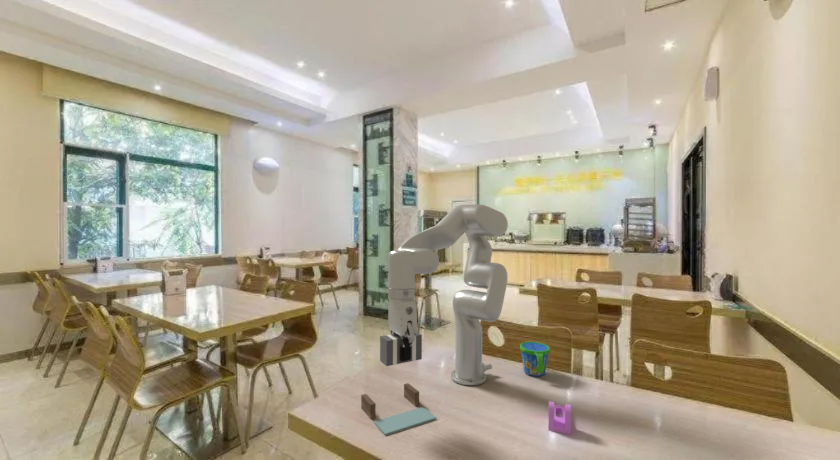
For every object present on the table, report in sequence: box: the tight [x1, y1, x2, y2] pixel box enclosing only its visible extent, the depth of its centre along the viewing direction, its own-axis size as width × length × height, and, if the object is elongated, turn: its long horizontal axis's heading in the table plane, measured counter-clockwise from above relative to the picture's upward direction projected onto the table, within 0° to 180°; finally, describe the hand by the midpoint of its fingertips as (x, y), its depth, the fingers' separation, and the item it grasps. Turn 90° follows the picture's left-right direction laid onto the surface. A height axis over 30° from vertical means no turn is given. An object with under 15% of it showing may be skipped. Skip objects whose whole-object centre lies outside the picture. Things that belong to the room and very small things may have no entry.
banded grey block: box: [379, 332, 423, 367], centre depth 105 cm, size 11×4×7 cm, turn 119°
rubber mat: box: [373, 406, 437, 436], centre depth 103 cm, size 16×7×1 cm, turn 121°
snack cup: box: [519, 341, 551, 378], centre depth 136 cm, size 16×10×10 cm
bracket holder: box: [360, 382, 420, 420], centre depth 111 cm, size 16×7×4 cm, turn 121°
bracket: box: [547, 400, 572, 435], centre depth 104 cm, size 13×6×7 cm, turn 160°
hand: (401, 356), depth 105 cm, fingers closed on banded grey block, 4 cm apart
